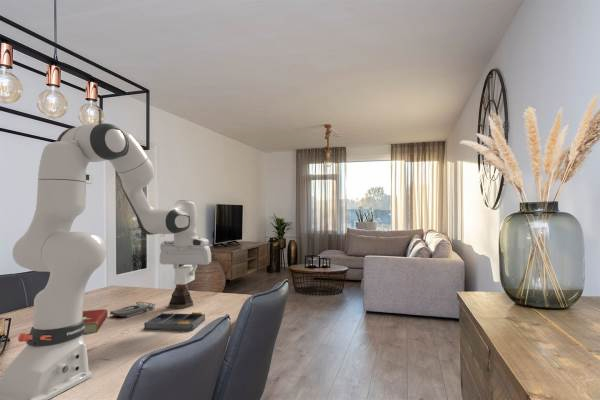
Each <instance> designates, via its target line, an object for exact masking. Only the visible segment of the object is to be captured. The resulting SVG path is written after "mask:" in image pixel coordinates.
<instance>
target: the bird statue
mask: <svg viewBox="0 0 600 400" xmlns="http://www.w3.org/2000/svg"><path fill="white" fill-rule="evenodd" d="M184 265H186V264H179V266H178V267H181V266H184ZM193 306H194V300H193V298H192V297H191V292H190V290H188V287H187V284H175V288H174V291H172V293H171V298H170V301H169V302H168V309H173V308H174V310H177V309H179V310H180V308H181V309H187V308H191V307H193Z"/></svg>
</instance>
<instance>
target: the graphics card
mask: <svg viewBox="0 0 600 400" xmlns="http://www.w3.org/2000/svg"><path fill="white" fill-rule="evenodd" d="M152 310H153V311H156V303H153V302H146V301H145V302H144V301H138V300H137V301H136V303H135V304H133V305H128V306H125V307H122V308H119V309H118V308H117V309H114V310H110V312H109V315H110V316H111V315H112V316H117V317H118V316H119V317H120V318H123V317H124V318H130V317H133V316H137V315H139V314H143V313H144V312H146V313H150V312H153V311H152ZM136 314H137V315H136Z"/></svg>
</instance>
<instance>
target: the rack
mask: <svg viewBox="0 0 600 400" xmlns="http://www.w3.org/2000/svg"><path fill="white" fill-rule="evenodd" d="M205 321H206V314H205V313H203V312H200V311H199V312H197V311H196V312H194V311H193V312H191V313H167V312H166V313H159V314H158V315H156V316H154V317H152V318H151V319H149V320H148V321H146V322H144V329H143V330H147V331H148V330H149V331H151V330H152V331H184V332H186V331H189V332H190V331H194V330H195V329H196V328H198V327H199V326H200V325H201V324H203V322H205Z"/></svg>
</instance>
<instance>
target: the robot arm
mask: <svg viewBox="0 0 600 400" xmlns="http://www.w3.org/2000/svg"><path fill="white" fill-rule="evenodd" d="M104 161H109V163H111V165H112V167H113V168H114V170H115V172H116V173H117V174H118V177H119V178H120V180H121V183H120V184H121V189H122V191H123V194H124V196H125V198H126V200H127V201H128V203H129V205H130V207H131V209H132V211H133V213H134V215H135V217H136V220H137V224H138V226H139V229H140V231H141V232H142V233H143V234H145V235H148V236H151V235H173V240H169V241H168V240H165V241H162V242H161V243H160V254H159V263H160V264H161V265H173V267H172V268H173V269H174V270H175V268H178V266H179V264H185V265H192V267H193V269H192V271H190V272H189V273H190V274H189V276H194V275H195V276H196V270H197V268H198V265H208V264H210V263H211V262H212V252H211V248H210V246H209V243H210V241H209V239H207V238H205V237H200V236H198V231H197V224H198V212H197V206H196V203H195V202H193V201H190V200H184V199H181V200H180V199H179V200H176V201H175V203H174V204H173V205H172V206H170V207H168V208H156V207H153V206H151V205H150V202H149V200H148V199H147V197H146V194H145V192H144V190H143V189H144V188H146V186H148V185H149V184H150V183H151V182H152V180H153V179H154V175H155V167H154V165H153V163H152V161H151V159H150V158H149V156H148V154H147V153H146V151H145V150H144V149H143V147H142V145H141V144H140V143H139V142H138V141H137V140H136V138H135V137H134V136H133V135H132V134H131V133H128V132H126V131H123V130H122V129H121V128H120V127H118V126H117V125H115V124H113V123H107V122H104V123H103V122H102V123H98V124H94V123H93V124H83V125H80V126H79V125H78V126H76V127H71V128H68V129H65V130H63V131H62V132H61V133H60V134H59V135H58V136H57V139H56V141H53V142H50V143H48V144H46V145H45V147H44V148H43V150H42V153H41V156H40V161H39V165H38V172H37V173H38V174H37V189H36V190H37V191H36V192H37V193H36V206H35V210H34V214H33V215H34V216H32V219H31V222H30V224H29V227H28V228H27V230H26V232H25V233H24V234H23V235H22V236H21V237H20V238H18V240H16V242H15V243H14V246H13V248H12V258H13V260H14V262H15V264H17V265H18V266H19V267H21V268H24V269H27V270H30V271H34V272H45V273H49V278H48V281H47V283H46V285H45V287H44V289H42V290H40V291H39V292H38V293H36V295H35V297H34V299H33V317H32V318H33V322H32V327H31V328H30V331H29V332H28V333H23V332H21V333H19V335H18V336H17V341H18V342H19V343H22V342H24V343H26V345H25V346H24V347H23V349H22V350H21V351H20V352H19V353H18V354H17V356H16V357H15V358H14V359H13V360H12V361H11V363H10V364H8V366H7V367H6V368H5V369H4V370H3V372H2V374H1V376H0V400H51V399H52V398H54V397H55V396H58V395H59V394H61V393H63V392H65V391H67V390H69V389H71V388H74V387H75V386H77V385H79V384H81V383H83V382H84V381H86V380H88V379H90V378H92V377H93V376H92V375H93V374H92V371H91V370H90V369H89V360H88V350H87V345H86V342H85V339H84V334H85V333H84V328H85V325H84V319H83V311H84V297H85V291H86V287H87V284H88V282H89V279H90V278H91V276H92V275H93V273H94V272H95V271H96V270H98V268H99V267H101V266H102V264H103V263H104V261H105V259H106V256H107V245H106V244H105V243H106V242H105V241H104V239H103V238H102V237H101V236H99V235H98V234H96V235H95V234H93V233H89V232H84V231H71V228H72V225H73V223H74V221H75V219H77V217H78V216H80V215H81V214H83V213H84V211H85V208H86V198H87V197H86V195H87V194H86V193H87V192H86V191H87V189H86V188H87V187H86V186H87V174H86V173H87V172H86V171H87V167H88V164H89V163H90V162H91V163H100V162H104Z"/></svg>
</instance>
